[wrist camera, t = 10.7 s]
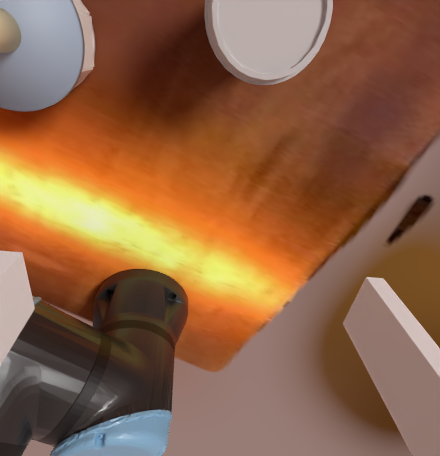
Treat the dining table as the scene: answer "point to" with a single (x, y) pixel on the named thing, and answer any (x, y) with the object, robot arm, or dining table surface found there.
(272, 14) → the disposable coffee cup
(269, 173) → the dining table surface
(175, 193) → the dining table surface
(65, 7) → the lid
